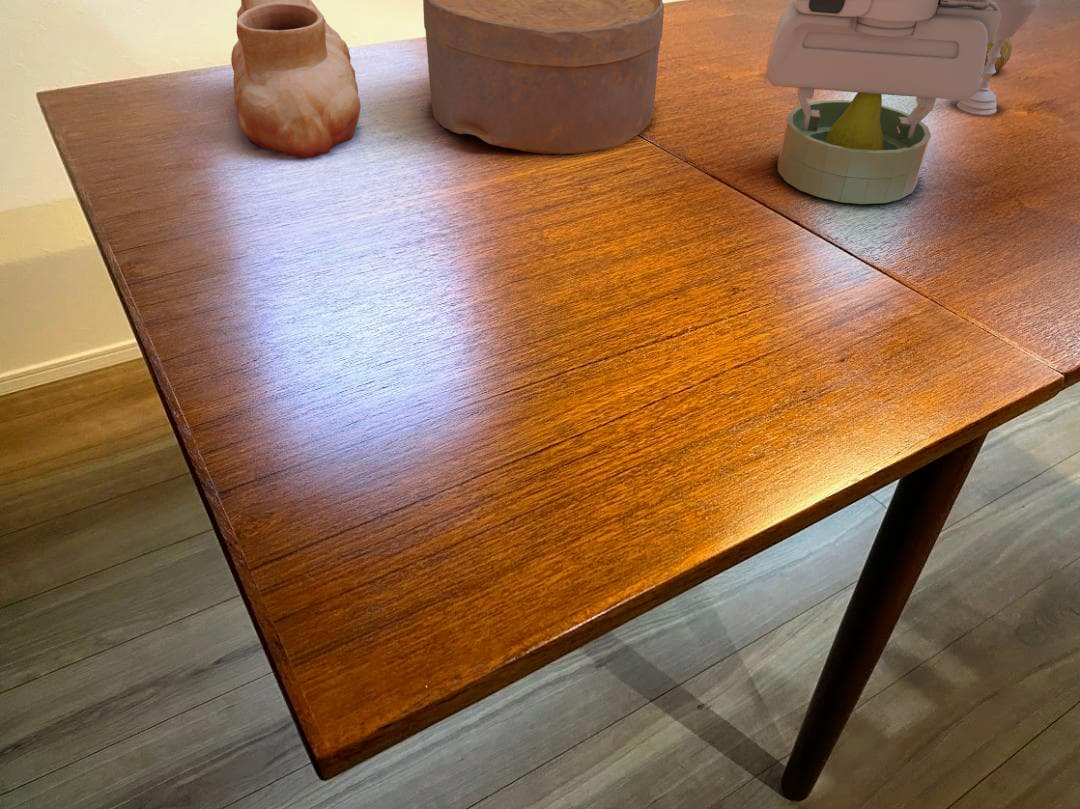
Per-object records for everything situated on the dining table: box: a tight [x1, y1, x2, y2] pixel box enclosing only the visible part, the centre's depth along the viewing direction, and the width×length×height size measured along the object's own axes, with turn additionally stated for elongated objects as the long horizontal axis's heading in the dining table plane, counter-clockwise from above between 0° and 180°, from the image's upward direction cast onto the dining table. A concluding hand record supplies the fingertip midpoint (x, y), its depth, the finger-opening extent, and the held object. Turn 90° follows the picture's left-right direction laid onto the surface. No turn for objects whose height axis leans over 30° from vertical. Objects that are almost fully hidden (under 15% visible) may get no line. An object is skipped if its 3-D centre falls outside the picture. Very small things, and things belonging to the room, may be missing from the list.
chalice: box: [956, 0, 1041, 116], centre depth 105 cm, size 7×7×18 cm
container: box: [422, 0, 665, 155], centre depth 103 cm, size 28×28×15 cm
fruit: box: [825, 92, 883, 151], centre depth 90 cm, size 6×6×12 cm
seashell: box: [984, 38, 1013, 72], centre depth 121 cm, size 10×7×8 cm
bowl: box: [777, 99, 932, 205], centre depth 93 cm, size 14×14×6 cm
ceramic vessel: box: [230, 0, 361, 158], centre depth 101 cm, size 14×26×15 cm, turn 18°
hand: (855, 133), depth 91 cm, fingers open, 8 cm apart
